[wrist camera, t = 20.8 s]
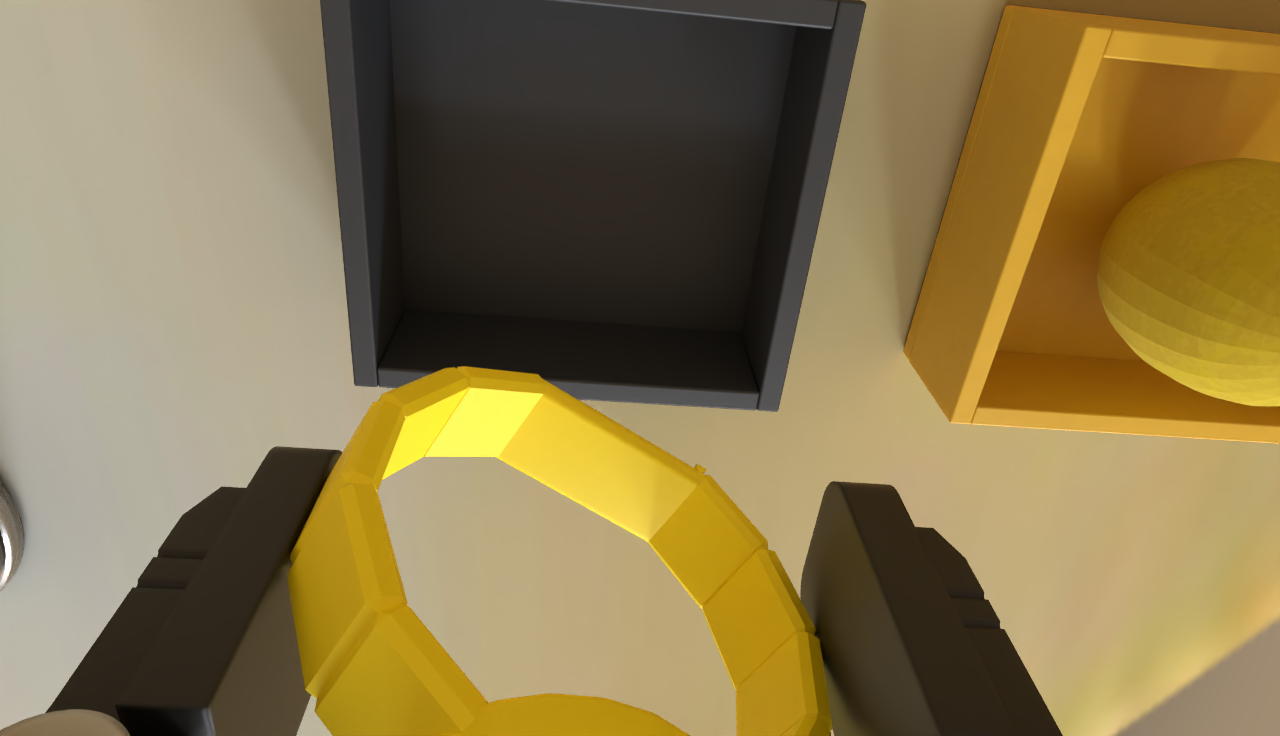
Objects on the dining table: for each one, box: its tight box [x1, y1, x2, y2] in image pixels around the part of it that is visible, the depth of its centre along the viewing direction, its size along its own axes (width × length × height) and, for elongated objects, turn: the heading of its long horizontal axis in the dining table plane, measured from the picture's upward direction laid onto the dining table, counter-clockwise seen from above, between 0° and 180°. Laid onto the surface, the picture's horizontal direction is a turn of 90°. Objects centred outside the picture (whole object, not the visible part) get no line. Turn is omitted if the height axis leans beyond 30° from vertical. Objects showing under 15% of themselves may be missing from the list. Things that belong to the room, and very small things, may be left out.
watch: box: [287, 366, 833, 736], centre depth 9 cm, size 6×3×6 cm, turn 56°
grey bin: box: [320, 0, 866, 412], centre depth 21 cm, size 11×10×4 cm
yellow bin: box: [904, 5, 1280, 443], centre depth 22 cm, size 11×10×4 cm
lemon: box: [1097, 158, 1280, 406], centre depth 20 cm, size 6×6×8 cm
